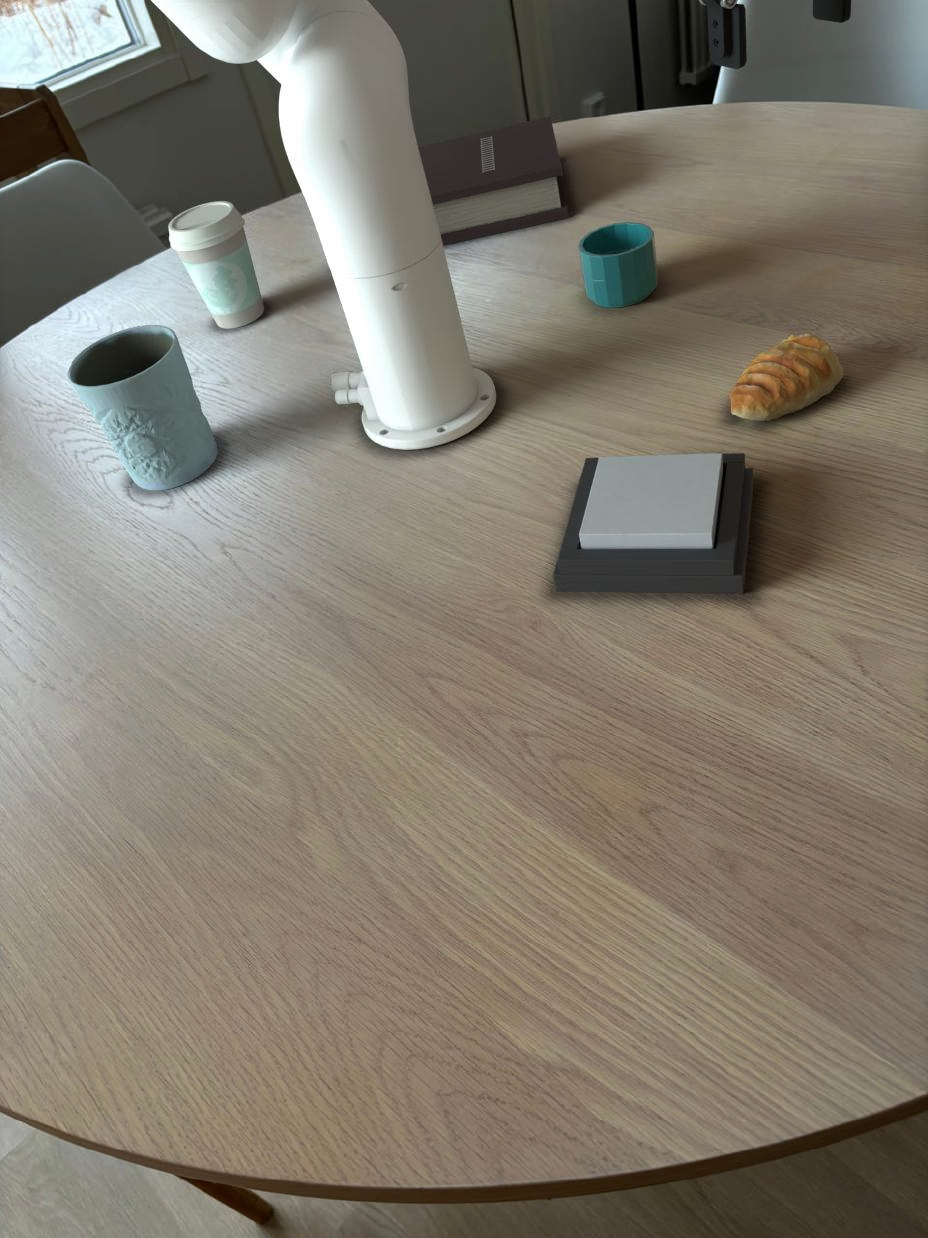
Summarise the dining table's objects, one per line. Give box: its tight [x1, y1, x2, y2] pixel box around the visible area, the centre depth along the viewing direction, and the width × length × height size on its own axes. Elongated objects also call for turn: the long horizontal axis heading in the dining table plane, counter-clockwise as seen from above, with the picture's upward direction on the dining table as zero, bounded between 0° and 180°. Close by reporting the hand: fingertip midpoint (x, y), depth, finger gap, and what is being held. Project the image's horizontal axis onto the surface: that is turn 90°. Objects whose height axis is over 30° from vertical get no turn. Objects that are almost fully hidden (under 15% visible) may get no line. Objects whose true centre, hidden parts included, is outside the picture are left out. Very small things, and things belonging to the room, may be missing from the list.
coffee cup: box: [168, 200, 265, 330], centre depth 114 cm, size 8×8×12 cm
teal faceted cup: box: [578, 221, 659, 309], centre depth 100 cm, size 7×7×6 cm
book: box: [418, 115, 570, 246], centre depth 125 cm, size 28×20×6 cm
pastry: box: [729, 333, 845, 422], centre depth 82 cm, size 9×7×4 cm
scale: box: [552, 452, 754, 595], centre depth 73 cm, size 13×12×3 cm
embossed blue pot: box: [66, 324, 219, 491], centre depth 93 cm, size 10×10×12 cm
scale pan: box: [579, 452, 723, 549], centre depth 72 cm, size 9×9×2 cm
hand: (780, 41), depth 74 cm, fingers open, 9 cm apart
